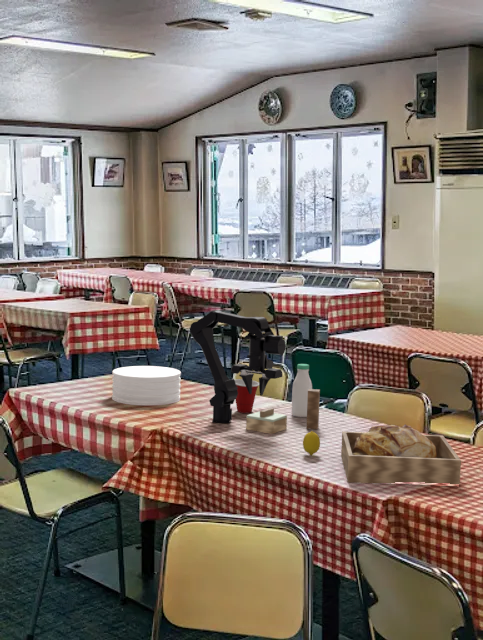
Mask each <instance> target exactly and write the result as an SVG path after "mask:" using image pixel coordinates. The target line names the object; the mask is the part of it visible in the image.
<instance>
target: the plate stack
mask: <svg viewBox="0 0 483 640" xmlns="http://www.w3.org/2000/svg"><path fill="white" fill-rule="evenodd" d="M181 375H182V372H181V370H179V369H177V368H173V367H166V366H158V365H157V366H156V365H133V366H132V365H131V366H121V367H118V368H114V369H113V370H112V385H111V387H112V388H111V389H112V390H111V391H112V395H111V399H112V401H114V402H117V403H118V404H124V405H125V404H126V405H132V406H163V405H171V404H174V403H175V404H176V403H177V402H179V401H181Z"/></svg>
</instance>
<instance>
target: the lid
mask: <svg viewBox="0 0 483 640" xmlns="http://www.w3.org/2000/svg"><path fill="white" fill-rule="evenodd" d="M246 418H252V419H258V420H263V421H269V422H275V421H278V420H280V419H283V418H288V415H287V414H282V413H275V408H272V407H269V408H265V409H262V410H259V411H256V412H253V413H250V414H247V415H246Z"/></svg>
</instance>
